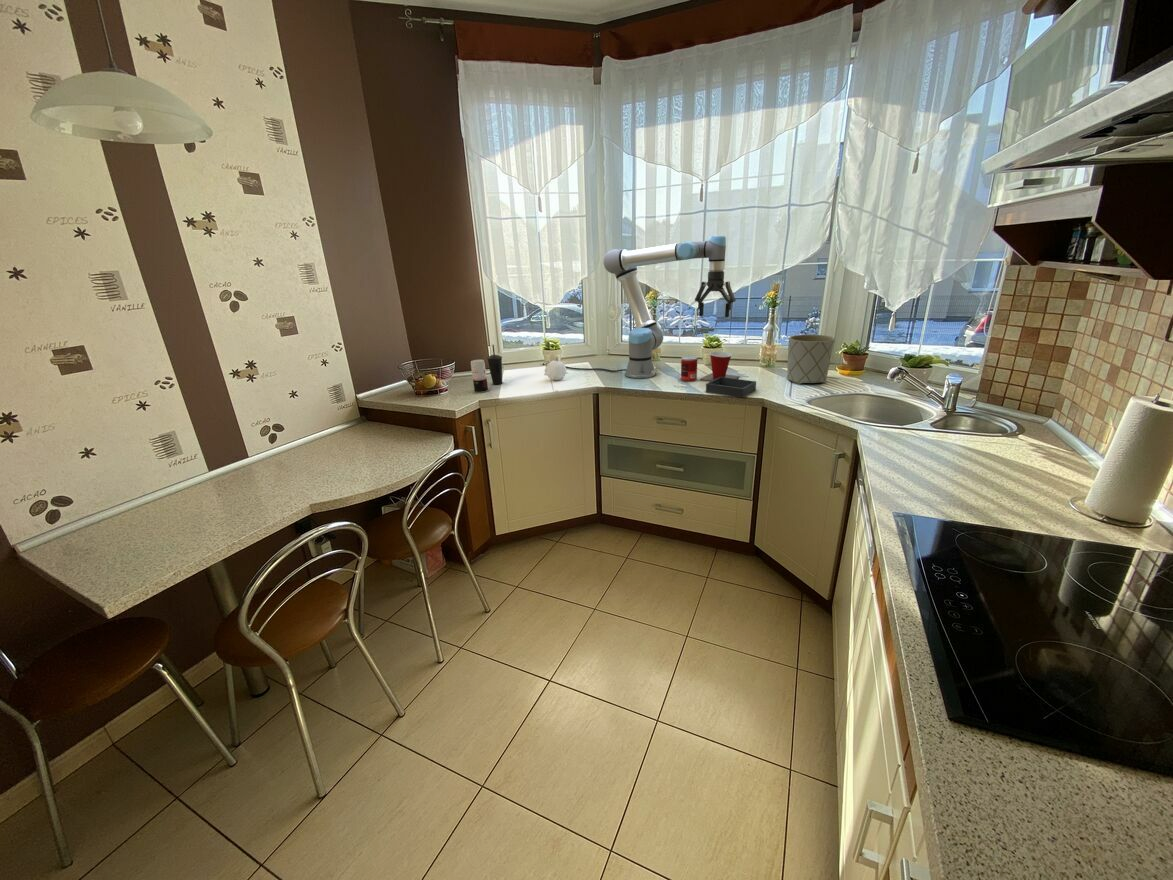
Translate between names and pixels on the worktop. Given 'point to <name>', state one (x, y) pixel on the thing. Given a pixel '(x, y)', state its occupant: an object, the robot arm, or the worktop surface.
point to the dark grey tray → (731, 387)
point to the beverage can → (479, 376)
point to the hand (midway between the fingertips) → (713, 316)
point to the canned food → (688, 368)
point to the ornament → (556, 369)
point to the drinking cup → (495, 368)
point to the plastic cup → (719, 363)
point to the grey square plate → (710, 378)
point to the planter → (809, 358)
